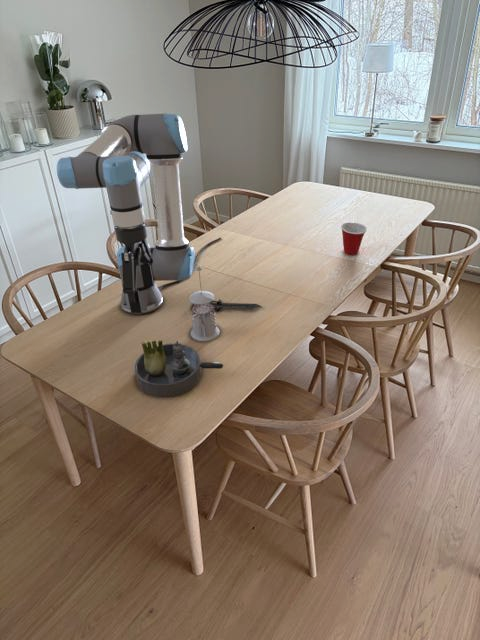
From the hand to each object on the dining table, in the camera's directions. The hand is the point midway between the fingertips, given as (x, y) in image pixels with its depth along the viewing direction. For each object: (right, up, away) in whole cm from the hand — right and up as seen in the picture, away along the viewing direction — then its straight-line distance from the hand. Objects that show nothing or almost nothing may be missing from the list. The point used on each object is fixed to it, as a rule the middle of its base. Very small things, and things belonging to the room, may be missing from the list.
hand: (143, 298), depth 126 cm
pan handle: (+18, -20, +12) cm, 29 cm away
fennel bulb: (+1, -22, +15) cm, 26 cm away
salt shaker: (+9, -22, +14) cm, 27 cm away
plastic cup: (+74, +23, +77) cm, 110 cm away
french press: (+14, -11, +31) cm, 36 cm away
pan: (+5, -22, +15) cm, 27 cm away
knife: (+21, -1, +45) cm, 50 cm away
